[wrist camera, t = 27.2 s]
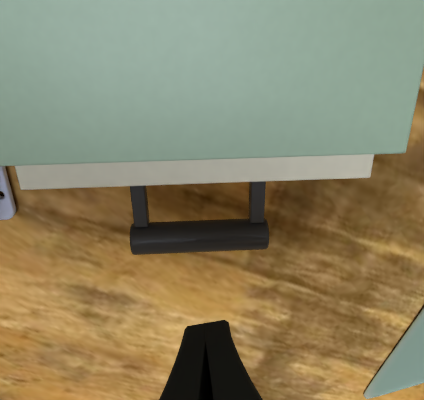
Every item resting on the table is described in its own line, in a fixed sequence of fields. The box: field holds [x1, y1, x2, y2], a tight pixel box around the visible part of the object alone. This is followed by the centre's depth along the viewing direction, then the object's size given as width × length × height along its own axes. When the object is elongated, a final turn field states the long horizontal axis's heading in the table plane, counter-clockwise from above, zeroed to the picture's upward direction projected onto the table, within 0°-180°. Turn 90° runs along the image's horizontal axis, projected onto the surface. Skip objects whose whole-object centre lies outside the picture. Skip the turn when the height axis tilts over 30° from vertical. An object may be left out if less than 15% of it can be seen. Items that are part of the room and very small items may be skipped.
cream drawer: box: [15, 154, 374, 255], centre depth 15 cm, size 15×12×6 cm
